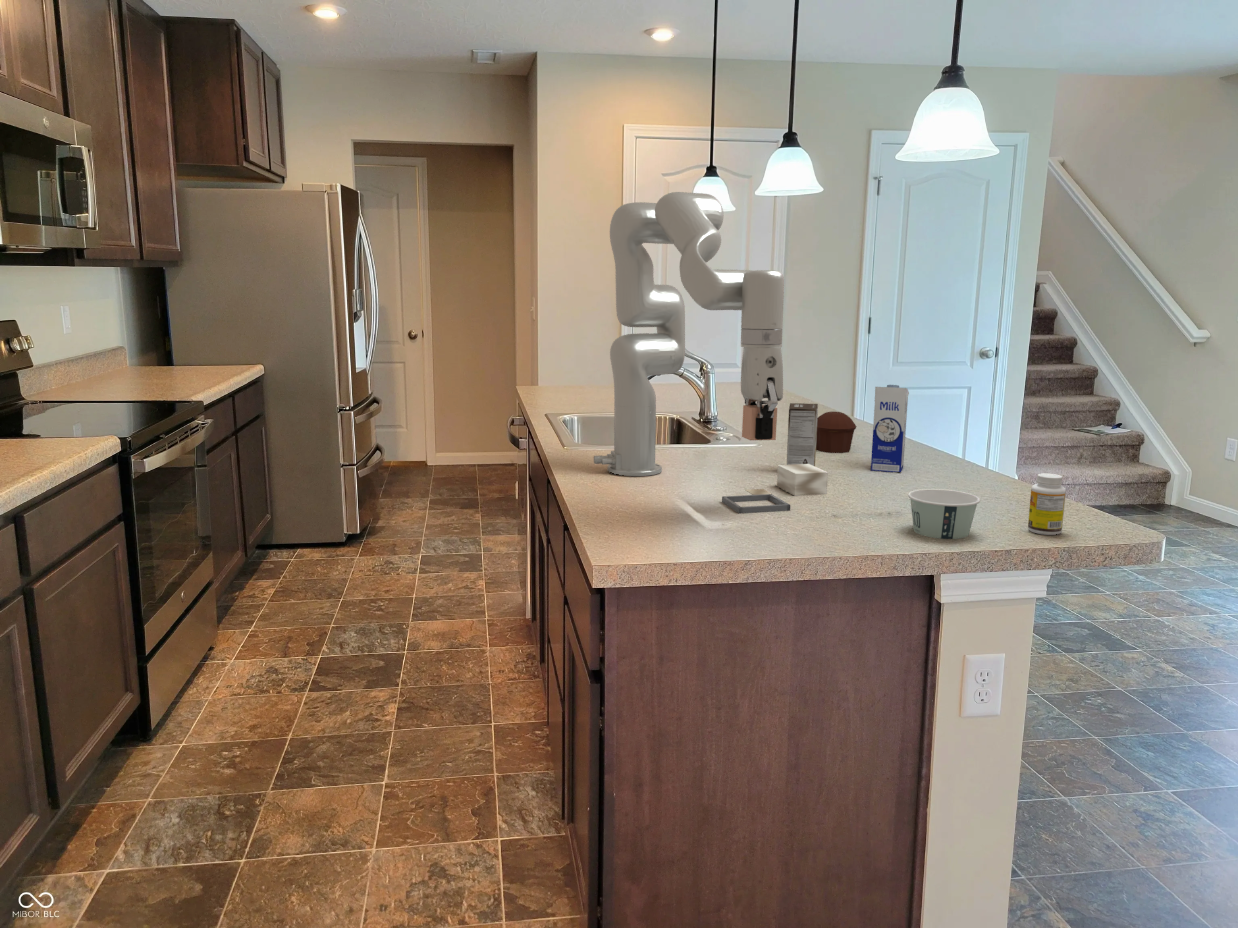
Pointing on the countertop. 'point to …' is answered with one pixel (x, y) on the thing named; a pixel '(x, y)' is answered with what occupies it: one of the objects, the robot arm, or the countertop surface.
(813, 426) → the coffee box
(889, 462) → the milk carton
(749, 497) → the tray
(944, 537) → the food container
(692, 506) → the countertop surface
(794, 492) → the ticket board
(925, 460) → the countertop surface
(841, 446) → the muffin
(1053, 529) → the supplement bottle
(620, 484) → the countertop surface
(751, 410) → the block
